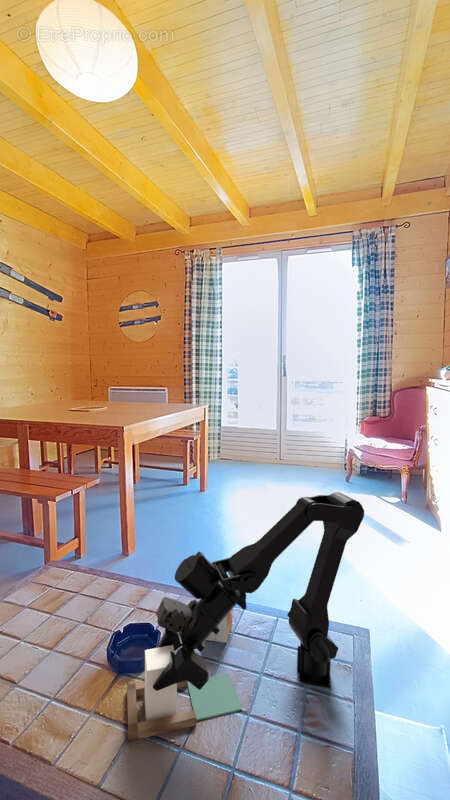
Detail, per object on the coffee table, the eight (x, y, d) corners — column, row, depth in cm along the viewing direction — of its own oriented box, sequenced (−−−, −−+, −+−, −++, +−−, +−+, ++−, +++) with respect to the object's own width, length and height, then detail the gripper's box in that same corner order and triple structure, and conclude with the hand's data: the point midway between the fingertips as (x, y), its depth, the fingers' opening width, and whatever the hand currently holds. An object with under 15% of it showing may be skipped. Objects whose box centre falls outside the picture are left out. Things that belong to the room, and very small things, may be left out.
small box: (226, 644, 88) (227, 601, 88) (204, 640, 90) (205, 598, 89) (232, 623, 96) (233, 583, 96) (212, 620, 97) (212, 581, 97)
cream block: (172, 693, 74) (173, 645, 74) (176, 717, 69) (177, 665, 68) (144, 699, 72) (145, 649, 72) (146, 724, 67) (147, 670, 67)
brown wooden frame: (186, 679, 77) (186, 673, 77) (196, 725, 67) (196, 717, 67) (127, 691, 74) (127, 684, 74) (128, 741, 64) (128, 733, 64)
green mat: (228, 674, 79) (228, 673, 79) (241, 710, 70) (241, 708, 70) (187, 683, 77) (187, 681, 77) (195, 721, 68) (195, 719, 68)
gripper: (175, 563, 80) (121, 621, 77) (191, 615, 62) (122, 692, 59) (209, 593, 82) (159, 650, 80) (235, 652, 64) (170, 728, 62)
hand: (153, 675), depth 70 cm, fingers open, 6 cm apart
